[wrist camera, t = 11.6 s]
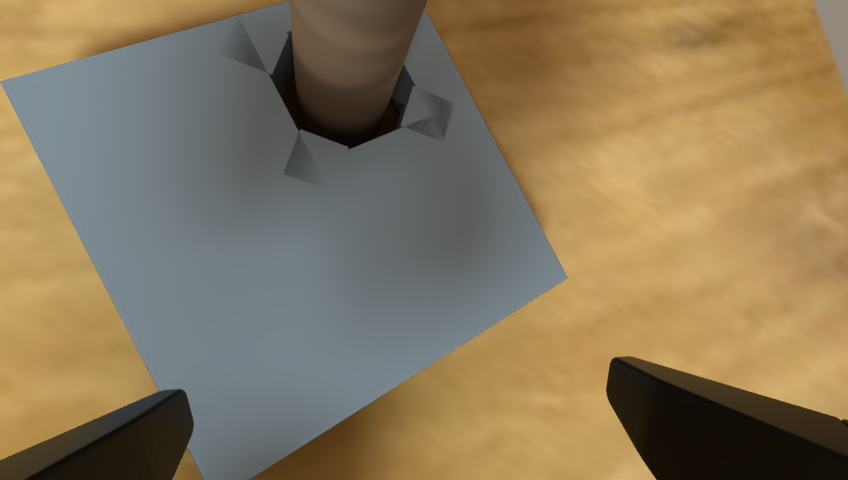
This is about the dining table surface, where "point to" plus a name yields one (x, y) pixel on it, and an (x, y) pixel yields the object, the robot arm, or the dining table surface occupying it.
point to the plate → (280, 228)
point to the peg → (349, 63)
